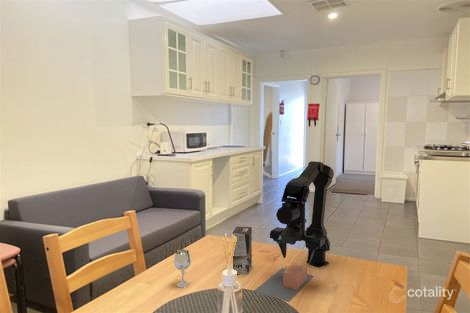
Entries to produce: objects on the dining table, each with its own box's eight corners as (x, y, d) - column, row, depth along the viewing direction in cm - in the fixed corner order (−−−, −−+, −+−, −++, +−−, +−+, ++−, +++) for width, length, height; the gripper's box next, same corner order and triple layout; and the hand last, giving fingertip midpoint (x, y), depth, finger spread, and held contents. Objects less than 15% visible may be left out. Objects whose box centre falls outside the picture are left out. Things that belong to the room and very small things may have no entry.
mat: (282, 268, 132) (282, 267, 132) (314, 277, 125) (314, 275, 125) (253, 292, 114) (253, 291, 114) (288, 303, 107) (288, 301, 107)
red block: (294, 263, 124) (283, 272, 117) (306, 266, 122) (296, 275, 114) (293, 276, 125) (283, 286, 117) (306, 279, 122) (296, 290, 115)
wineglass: (193, 282, 122) (193, 249, 121) (186, 289, 116) (185, 255, 115) (179, 279, 124) (178, 248, 123) (171, 287, 118) (170, 253, 117)
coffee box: (248, 276, 127) (248, 233, 125) (231, 274, 128) (231, 232, 126) (252, 266, 135) (252, 226, 134) (236, 264, 137) (236, 225, 135)
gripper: (262, 218, 117) (262, 262, 118) (314, 227, 106) (313, 275, 108) (276, 211, 126) (276, 252, 127) (326, 219, 116) (325, 263, 117)
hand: (296, 260), depth 120 cm, fingers open, 9 cm apart
